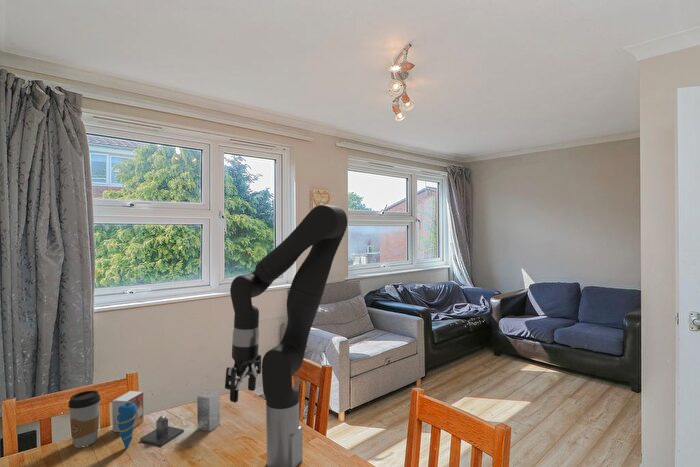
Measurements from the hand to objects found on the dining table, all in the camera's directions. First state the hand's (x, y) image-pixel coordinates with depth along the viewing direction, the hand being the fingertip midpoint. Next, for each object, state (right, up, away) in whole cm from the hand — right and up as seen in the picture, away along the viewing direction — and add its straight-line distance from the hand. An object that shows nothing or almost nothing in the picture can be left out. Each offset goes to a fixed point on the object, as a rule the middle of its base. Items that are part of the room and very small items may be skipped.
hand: (243, 395), depth 115 cm
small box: (-43, -18, +17) cm, 50 cm away
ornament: (-36, -18, +4) cm, 41 cm away
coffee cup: (-51, -18, +7) cm, 55 cm away
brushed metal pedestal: (-16, -17, +16) cm, 28 cm away
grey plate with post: (-29, -18, +10) cm, 35 cm away
